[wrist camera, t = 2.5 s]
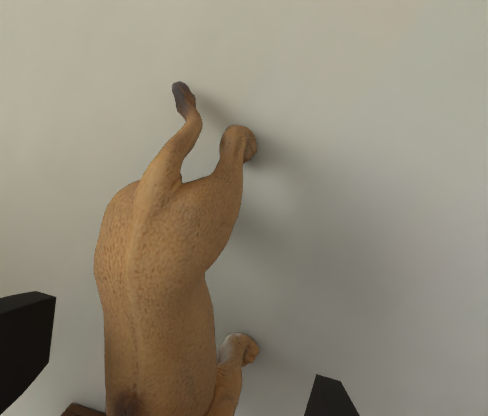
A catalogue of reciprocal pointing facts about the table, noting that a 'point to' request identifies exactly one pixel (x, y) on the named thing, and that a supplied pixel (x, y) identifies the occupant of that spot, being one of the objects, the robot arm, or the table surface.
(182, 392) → the lion figurine
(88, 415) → the tray
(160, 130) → the table surface
